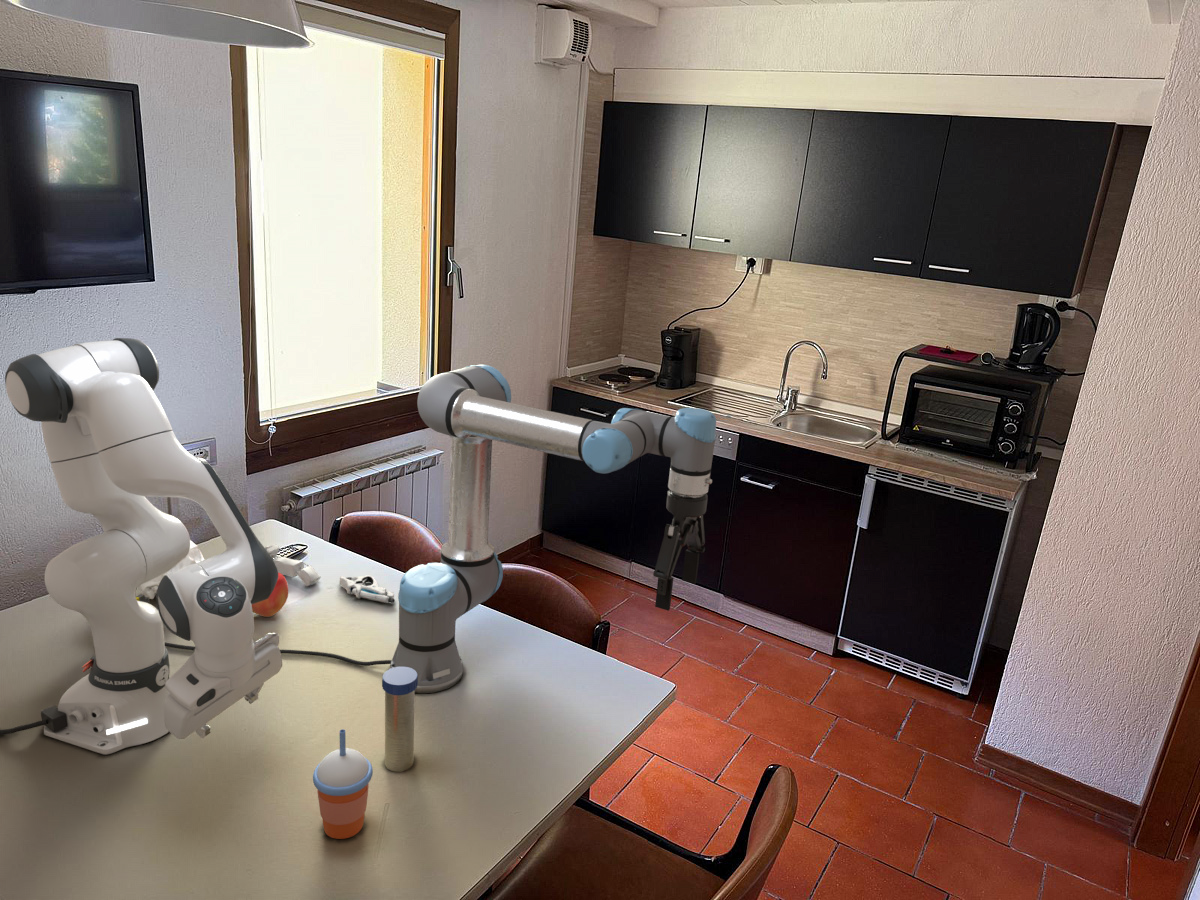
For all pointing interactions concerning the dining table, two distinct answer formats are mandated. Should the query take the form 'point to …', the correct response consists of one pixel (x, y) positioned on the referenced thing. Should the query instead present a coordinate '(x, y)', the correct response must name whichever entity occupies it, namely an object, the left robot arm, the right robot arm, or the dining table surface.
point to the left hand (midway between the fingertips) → (228, 716)
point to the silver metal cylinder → (399, 731)
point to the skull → (191, 558)
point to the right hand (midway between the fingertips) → (676, 594)
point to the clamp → (293, 567)
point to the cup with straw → (343, 790)
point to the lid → (400, 680)
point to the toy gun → (366, 589)
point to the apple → (273, 599)
